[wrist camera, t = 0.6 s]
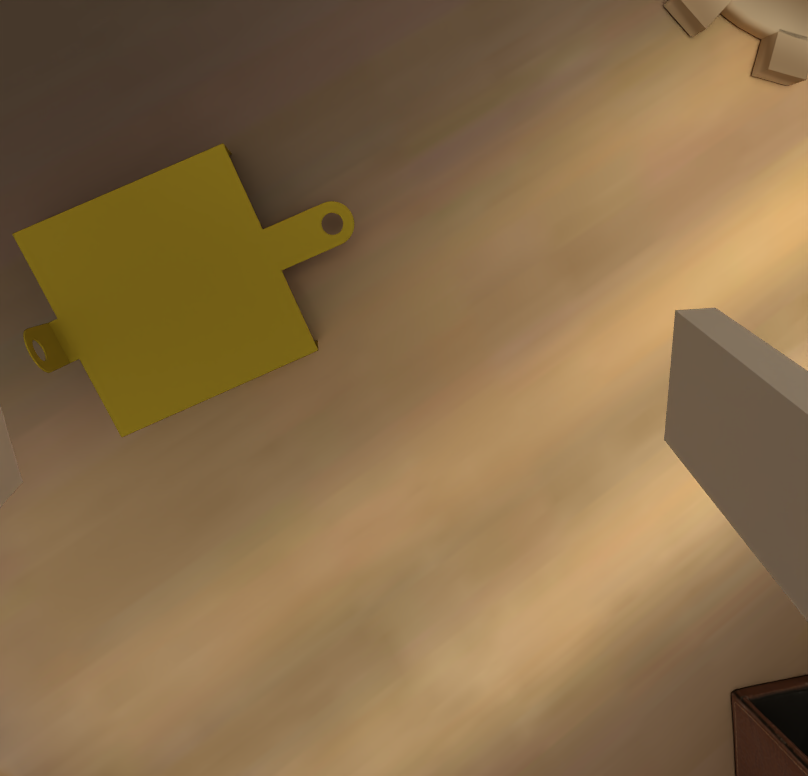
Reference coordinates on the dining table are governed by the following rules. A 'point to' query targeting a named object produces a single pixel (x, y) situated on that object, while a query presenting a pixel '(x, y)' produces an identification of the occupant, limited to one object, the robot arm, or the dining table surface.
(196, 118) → the dining table surface
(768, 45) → the sprocket
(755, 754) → the letter holder
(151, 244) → the bracket
